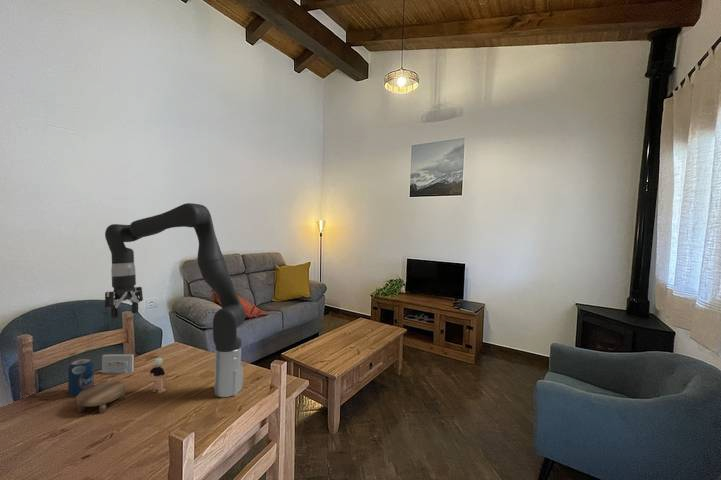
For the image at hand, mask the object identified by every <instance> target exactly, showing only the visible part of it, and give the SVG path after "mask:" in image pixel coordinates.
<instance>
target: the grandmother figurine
mask: <svg viewBox="0 0 721 480" xmlns="http://www.w3.org/2000/svg"><path fill="white" fill-rule="evenodd" d="M163 361H164V359H163V358H162V357H157V358H156V359H155V360H154V361H153V362H152V366H154V367H152V368H151V369H150V371H149V374H148V375H149V377H151V376H152V375H153V390H152V392H153V393H157V394H161V393H163V392H166V388H164V384H163V381H165V380H166V379H167V378H166V373H165V370H164V368H163V367H162V366H163Z"/></svg>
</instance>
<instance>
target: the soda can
mask: <svg viewBox="0 0 721 480" xmlns="http://www.w3.org/2000/svg"><path fill="white" fill-rule="evenodd" d="M94 366H95V365H94V361H93V360H92V358H91V357H82V358H77V359H75V360H72V361H71V362H70V365H69V366H68V368H67V369H68V370H67V371H68V372H67V376H68V378H67V383H68V386H67V392H68V393H67V394H68V395H70V397H72V398H77V395H78V394H79V393H80V392H81V391H83V390H85V389H87V388H89V387H91V386H94V374H95V373H94V370H95V369H94Z"/></svg>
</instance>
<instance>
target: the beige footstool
mask: <svg viewBox="0 0 721 480" xmlns="http://www.w3.org/2000/svg"><path fill="white" fill-rule="evenodd" d="M126 390H127V387H126V383H125V382H123V381H119V380H118V381H117V380H116V381H115V380H112V381H105V382H101V383H97V384H95V385H94V386H91V387H89V388H87V389H85V390H83V391H81V392H80V393H79V394H78V395H77V397H76V404H77V413H81V412H83V411H85V410H86V408H88V407H96V406H97V407H98V406H99V407H98V413H99V415H100V414H105V413H106V412H107V403H112V402H113V401H115V400H117V399H118V402H121V401H124V400H126V399H125V398H126V396H125V395H126V392H127V391H126Z"/></svg>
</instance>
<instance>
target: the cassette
mask: <svg viewBox="0 0 721 480" xmlns="http://www.w3.org/2000/svg"><path fill="white" fill-rule="evenodd" d="M134 363H135V361H134V354H103V355H102V356H101V373H102V374H105V375H106V374H107V375H108V374H133V373H134Z"/></svg>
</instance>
